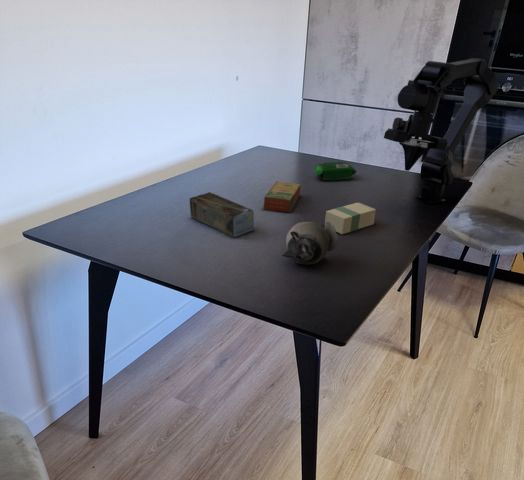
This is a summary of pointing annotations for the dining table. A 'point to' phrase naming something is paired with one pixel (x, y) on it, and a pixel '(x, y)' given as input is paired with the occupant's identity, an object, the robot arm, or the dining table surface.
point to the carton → (282, 197)
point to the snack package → (334, 171)
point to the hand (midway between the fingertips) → (406, 170)
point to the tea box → (350, 217)
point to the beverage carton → (222, 214)
